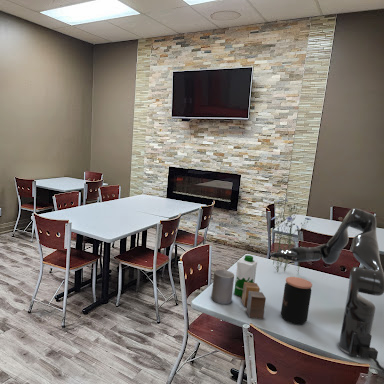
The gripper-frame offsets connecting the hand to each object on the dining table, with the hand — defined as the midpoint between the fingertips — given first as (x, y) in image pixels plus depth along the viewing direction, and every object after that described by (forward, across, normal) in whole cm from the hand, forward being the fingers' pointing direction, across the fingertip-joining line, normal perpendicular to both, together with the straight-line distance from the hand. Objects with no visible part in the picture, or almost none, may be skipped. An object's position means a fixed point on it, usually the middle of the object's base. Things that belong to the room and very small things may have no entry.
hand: (273, 255), depth 173 cm
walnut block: (+21, +19, +22) cm, 35 cm away
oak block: (+17, +9, +21) cm, 29 cm away
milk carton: (+14, -1, +22) cm, 26 cm away
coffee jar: (+5, +25, +22) cm, 33 cm away
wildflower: (-31, -28, +21) cm, 47 cm away
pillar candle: (+29, +3, +22) cm, 36 cm away
